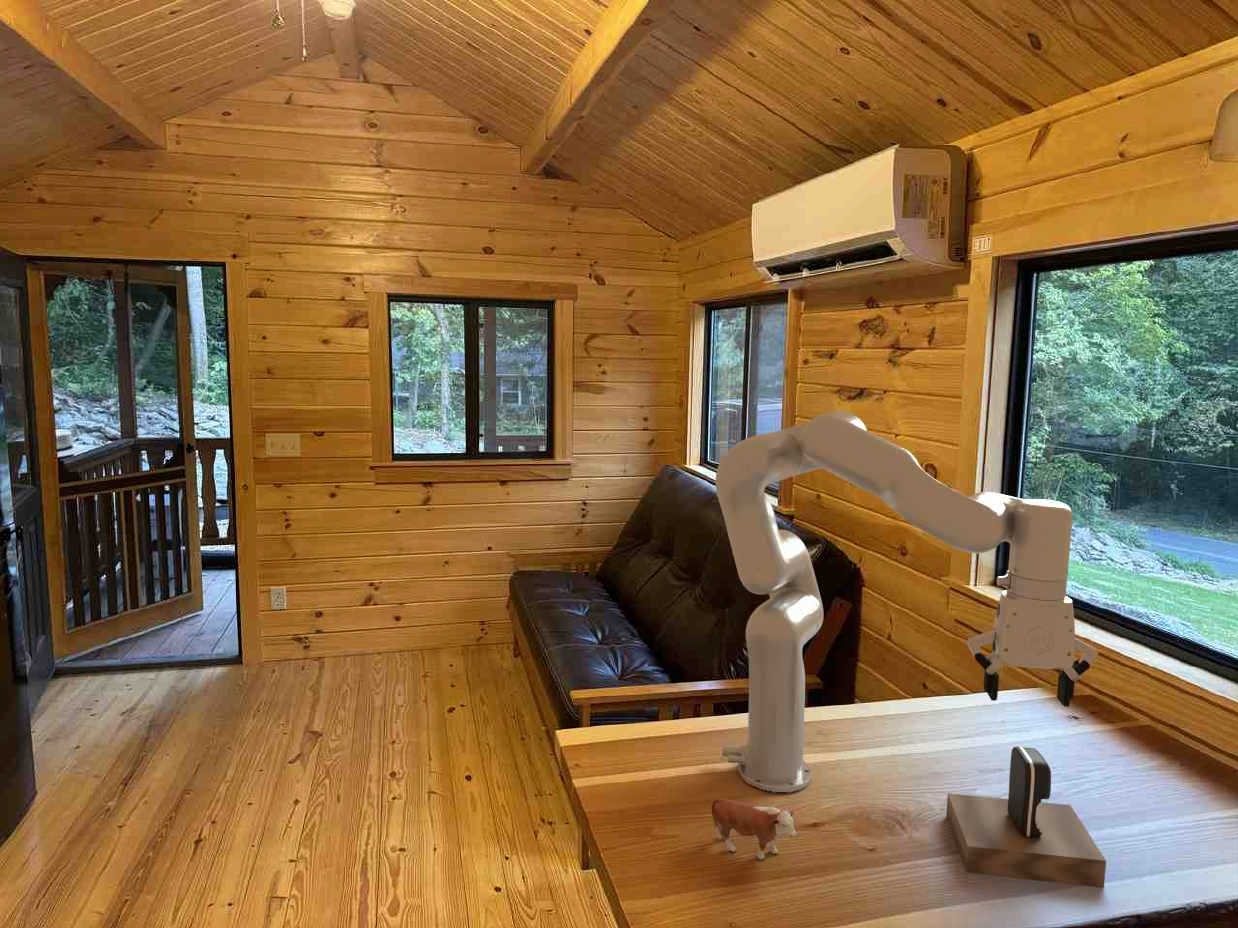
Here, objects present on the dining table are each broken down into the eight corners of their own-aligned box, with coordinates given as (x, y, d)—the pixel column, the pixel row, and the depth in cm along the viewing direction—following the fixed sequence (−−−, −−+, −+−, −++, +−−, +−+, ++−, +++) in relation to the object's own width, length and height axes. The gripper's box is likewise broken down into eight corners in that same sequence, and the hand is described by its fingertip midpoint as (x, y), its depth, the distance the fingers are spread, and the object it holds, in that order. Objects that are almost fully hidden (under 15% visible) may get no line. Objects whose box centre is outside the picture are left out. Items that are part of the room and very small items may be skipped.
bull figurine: (792, 875, 115) (793, 822, 114) (706, 845, 122) (707, 795, 121) (802, 859, 119) (804, 807, 117) (719, 830, 126) (719, 781, 125)
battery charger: (1049, 840, 116) (1055, 766, 115) (1021, 838, 117) (1027, 764, 115) (1032, 813, 123) (1037, 742, 121) (1005, 811, 124) (1011, 741, 122)
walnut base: (966, 871, 116) (968, 845, 115) (946, 816, 129) (947, 793, 129) (1103, 887, 112) (1106, 860, 112) (1068, 828, 126) (1070, 804, 125)
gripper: (978, 590, 113) (969, 705, 116) (1113, 598, 110) (1101, 716, 113) (966, 575, 121) (958, 684, 123) (1092, 582, 117) (1082, 694, 120)
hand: (1027, 699), depth 118 cm, fingers open, 9 cm apart
